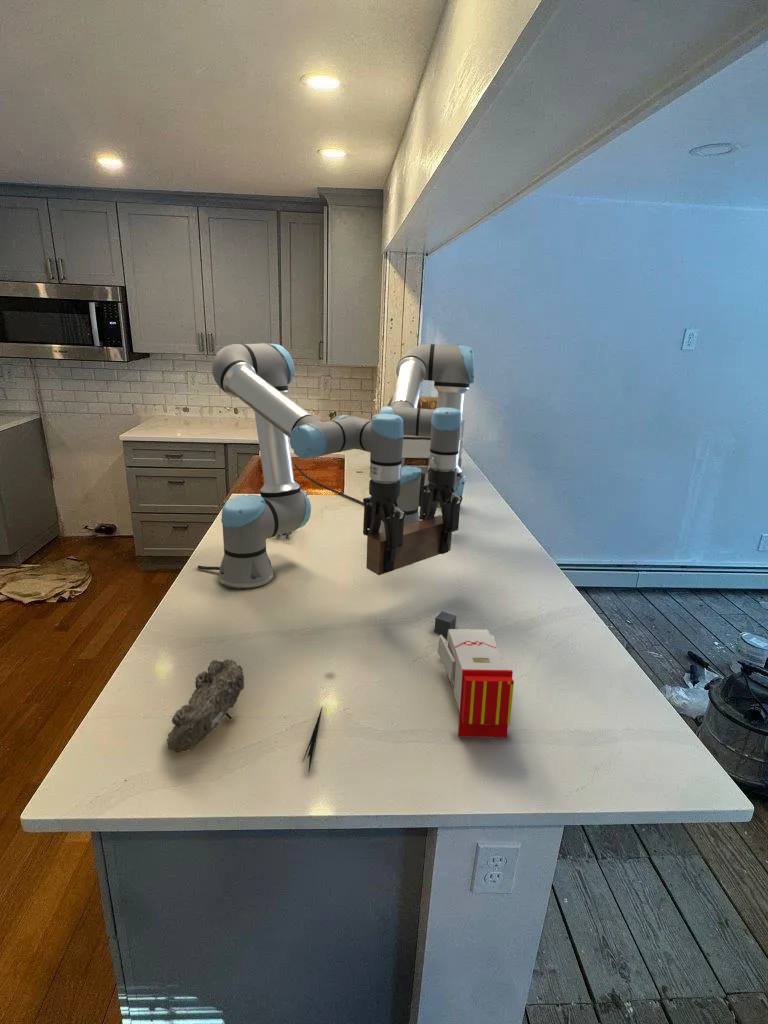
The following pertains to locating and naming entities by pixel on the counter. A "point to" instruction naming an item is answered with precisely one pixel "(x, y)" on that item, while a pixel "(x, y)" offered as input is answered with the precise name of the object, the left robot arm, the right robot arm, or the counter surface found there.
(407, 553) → the bar
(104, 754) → the counter surface
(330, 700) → the counter surface
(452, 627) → the slate block
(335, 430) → the left robot arm
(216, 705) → the fossil
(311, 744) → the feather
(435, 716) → the counter surface
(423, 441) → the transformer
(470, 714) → the toy
